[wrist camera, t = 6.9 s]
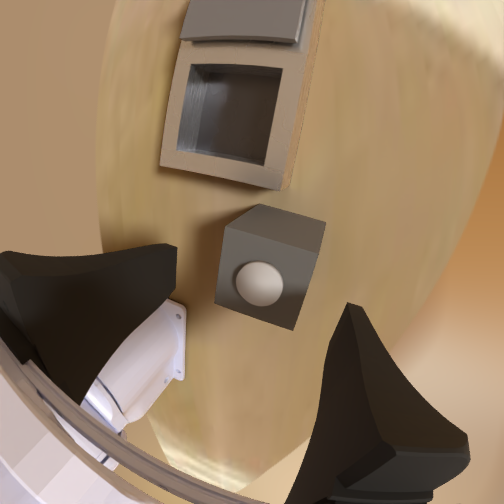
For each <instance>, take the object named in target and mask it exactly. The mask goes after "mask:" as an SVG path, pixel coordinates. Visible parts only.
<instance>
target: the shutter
mask: <svg viewBox="0 0 504 504" xmlns="http://www.w3.org/2000/svg"><path fill="white" fill-rule="evenodd" d="M305 1H306V0H190V3H189V7H188V10H187V13H186V16H185V20H184V23H183V27H182V31H181V34H180V39H181V40H183V41H185V42H186V41H199V40H228V39H235V40H264V41H277V42H287V43H296V44H297V43H298V38H299V32H300V27H301V22H302V17H303V12H304V6H305Z"/></svg>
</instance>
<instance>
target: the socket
mask: <svg viewBox="0 0 504 504" xmlns="http://www.w3.org/2000/svg"><path fill="white" fill-rule="evenodd" d="M324 4H325V0H306V1H305V6H304V12H303V17H302V22H301V27H300V32H299V38H298V43H297V44H296V43H287V42H277V41H264V40H235V39H228V40H199V41H186V42H185V41H183V40H182V41H181V45H180V49H179V53H178V57H177V61H176V66H175V71H174V75H173V80H172V85H171V91H170V96H169V102H168V107H167V113H166V120H165V127H164V134H163V141H162V149H161V157H160V166H164V167H170V168H176V169H181V170H186V171H192V172H197V173H202V174H207V175H212V176H216V177H221V178H226V179H230V180H235V181H239V182H243V183H248V184H252V185H256V186H260V187H264V188H269V189H273V190H276V191H281V190H283V189H285V188H286V187H288V186H289V185H290V181H291V176H292V171H293V167H294V162H295V157H296V153H297V148H298V143H299V138H300V133H301V128H302V123H303V119H304V114H305V109H306V103H307V98H308V93H309V88H310V83H311V78H312V72H313V67H314V62H315V56H316V51H317V45H318V39H319V34H320V28H321V22H322V16H323V10H324Z"/></svg>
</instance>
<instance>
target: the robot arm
mask: <svg viewBox="0 0 504 504" xmlns="http://www.w3.org/2000/svg"><path fill="white" fill-rule="evenodd" d="M176 264H177V247H175V246H172V245H169V244H166V243H165V244H154V245H148V246H142V247H137V248H132V249H127V250H121V251H115V252H109V253H103V254H97V255H87V256H66V257H53V256H38V255H30V254H24V253H18V252H13V251H5V252H2V253H0V504H164V503H162V502H160V501H158V500H156V499H155V498H153V497H151V496H149V495H148V494H146V493H144V492H143V491H141V490H139V489H138V488H136V487H134V486H133V485H131V484H130V483H128V482H127V481H125V480H124V479H123V478H121V477H120V476H118V475H117V474H115V473H114V472H113V470H114V469H115V468H116V467H117V466H118V464H119V463H120V464H121V465H123V466H124V467H126V468H128V469H129V470H131V471H132V472H134V473H136V474H137V475H139V476H141V477H142V478H144V479H146V480H148V481H149V482H151V483H153V484H155V485H157V486H158V487H160V488H162V489H164V490H166V491H168V492H170V493H172V494H174V495H176V496H178V497H180V498H183V499H185V500H187V501H189V502H191V503H194V504H269V503H265V502H261V501H258V500H254V499H251V498H248V497H244V496H241V495H238V494H235V493H232V492H230V491H227V490H224V489H221V488H219V487H216V486H214V485H211V484H209V483H206V482H204V481H201V480H199V479H197V478H194V477H192V476H190V475H188V474H186V473H184V472H182V471H179V470H177V469H175V468H173V467H171V466H169V465H167V464H165V463H164V462H162V461H160V460H158V459H156V458H155V457H153V456H151V455H149V454H147V453H146V452H144V451H142V450H141V449H139V448H137V447H136V446H134V445H133V444H131V443H129V442H128V441H127V435H126V433H125V431H124V430H123V428H124V426H125V425H126V424H127V423H131V422H134V421H136V420H138V419H140V418H141V417H142V416H143V415H144V414H145V413H146V412H147V411H148V409H149V408H150V407H151V406H152V404H153V403H154V402H155V401H156V399H157V398H158V397H159V395H160V394H161V393H162V392H163V390H164V389H165V388H166V387H167V385H168V384H169V383H170V381H171V380H172V379H173V378H175V379H177V380H180V381H182V380H183V379H184V378H185V334H186V309H185V307H184V306H183V305H181V304H179V303H177V302H174V301H172V300H170V299H167V298H168V297H169V296H170V294H171V293H172V292H173V290H174V289H175V288H176ZM469 462H470V451H469V443H468V437H467V434H466V433H465V432H463V431H462V430H460V429H459V428H458V427H456V426H455V425H454V424H452V423H451V422H449V421H448V420H447V419H446V418H445V417H443V416H442V415H441V414H440V413H439V412H438V411H437V410H436V409H434V408H433V407H432V406H431V405H430V404H429V403H428V402H427V401H426V400H425V399H424V398H423V397H422V396H421V395H420V393H419V392H418V391H417V390H416V389H415V388H414V387H413V386H412V385H411V383H410V382H409V381H408V380H407V378H406V377H405V376H404V375H403V373H402V372H401V371H400V369H399V368H398V367H397V365H396V364H395V362H394V361H393V359H392V358H391V356H390V355H389V353H388V352H387V350H386V348H385V347H384V345H383V343H382V342H381V340H380V338H379V337H378V335H377V333H376V331H375V329H374V328H373V326H372V324H371V322H370V320H369V318H368V316H367V315H366V313H365V311H364V309H363V308H362V307H361V306H358V305H355V304H351V303H348V302H347V304H346V306H345V309H344V311H343V313H342V316H341V318H340V320H339V322H338V325H337V327H336V329H335V331H334V333H333V336H332V338H331V340H330V342H329V346H328V350H327V354H326V359H325V363H324V371H323V379H322V387H321V394H320V401H319V408H318V413H317V418H316V422H315V425H314V429H313V432H312V435H311V439H310V442H309V445H308V448H307V451H306V453H305V456H304V459H303V462H302V464H301V467H300V470H299V472H298V475H297V477H296V480H295V482H294V484H293V487H292V489H291V491H290V493H289V495H288V498H287V499H286V502H285V503H284V504H427V502H430V501H432V498H433V490H434V489H436V488H438V487H439V486H441V485H443V484H445V483H446V482H448V481H450V480H451V479H453V478H454V477H456V476H457V475H459V474H460V473H461V472H462V471H463V470H464V469H465V468H466V467H467V466H468V464H469Z"/></svg>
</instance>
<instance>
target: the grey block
mask: <svg viewBox="0 0 504 504" xmlns="http://www.w3.org/2000/svg"><path fill="white" fill-rule="evenodd" d="M325 226H326V222H323V221H320V220H316V219H313V218H309V217H306V216H302V215H299V214H295V213H292V212H288V211H285V210H281V209H277V208H274V207H270V206H266V205H263V204H258V205H257V206H255V207H254V208H252V209H251V210H249V211H247V212H246V213H244V214H243V215H241V216H240V217H238V218H237V219H235V220H234V221H232V222H231V223H229V224H228V225H226V226H225V231H224V237H223V244H222V251H221V258H220V265H219V272H218V279H217V286H216V293H215V301H214V303H215V304H218V305H220V306H223V307H226V308H228V309H231V310H234V311H237V312H239V313H242V314H245V315H248V316H251V317H253V318H256V319H259V320H262V321H265V322H268V323H271V324H274V325H277V326H280V327H283V328H286V329H289V330H292V331H293V329H294V327H295V324H296V321H297V318H298V315H299V313H300V310H301V307H302V304H303V301H304V298H305V295H306V292H307V289H308V286H309V283H310V280H311V277H312V274H313V271H314V267H315V264H316V261H317V258H318V255H319V251H320V247H321V243H322V238H323V234H324V230H325Z"/></svg>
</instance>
